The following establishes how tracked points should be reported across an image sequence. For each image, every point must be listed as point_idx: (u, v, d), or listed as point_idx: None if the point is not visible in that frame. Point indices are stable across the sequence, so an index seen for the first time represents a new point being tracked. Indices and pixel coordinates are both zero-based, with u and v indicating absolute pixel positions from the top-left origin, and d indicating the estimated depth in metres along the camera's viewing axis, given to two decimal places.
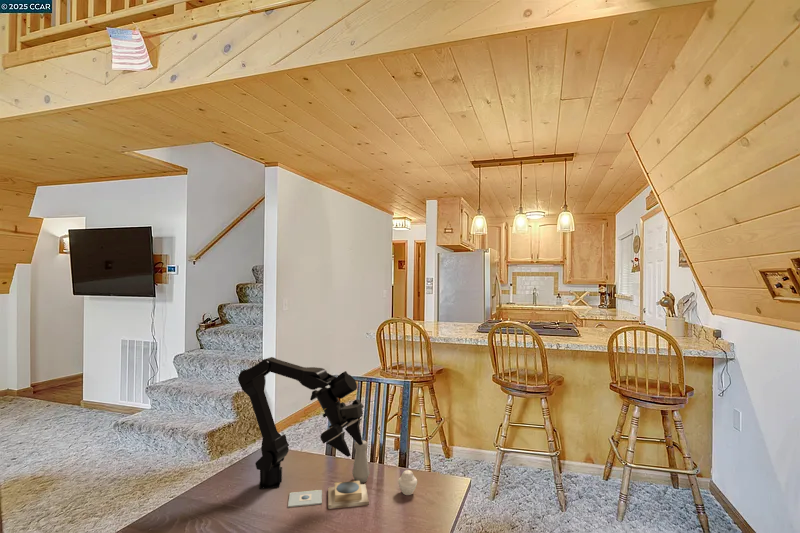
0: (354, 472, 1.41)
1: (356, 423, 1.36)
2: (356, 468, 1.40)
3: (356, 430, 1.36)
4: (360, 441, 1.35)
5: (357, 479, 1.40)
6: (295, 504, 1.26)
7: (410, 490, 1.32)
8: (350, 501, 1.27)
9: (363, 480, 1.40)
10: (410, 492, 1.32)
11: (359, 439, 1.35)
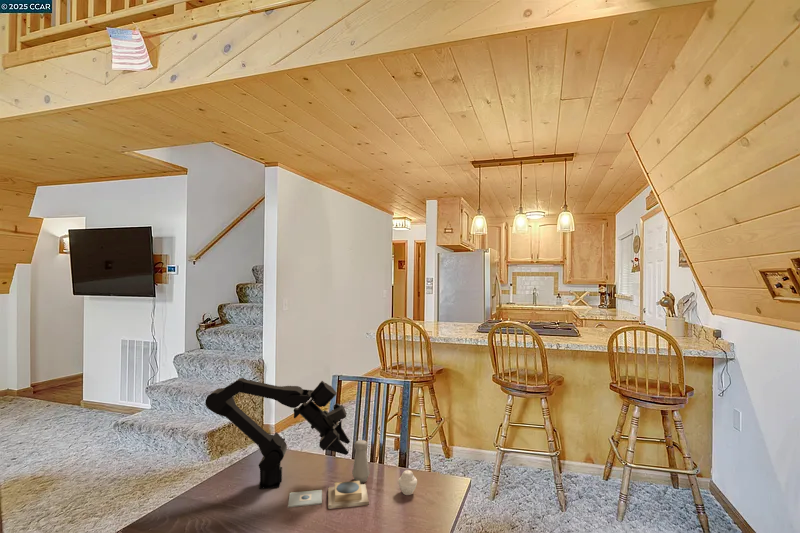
0: (354, 472, 1.41)
1: (339, 425, 1.47)
2: (356, 468, 1.40)
3: (341, 432, 1.47)
4: (347, 440, 1.47)
5: (357, 479, 1.40)
6: (295, 504, 1.26)
7: (410, 490, 1.32)
8: (350, 501, 1.27)
9: (363, 480, 1.40)
10: (410, 492, 1.32)
11: (346, 438, 1.47)
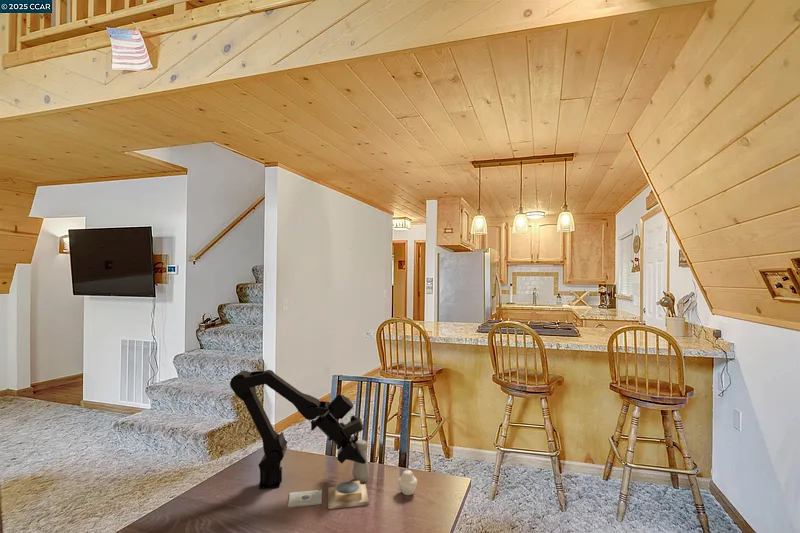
0: (354, 472, 1.41)
1: (355, 440, 1.45)
2: (356, 468, 1.40)
3: None
4: None
5: (357, 479, 1.40)
6: (295, 504, 1.26)
7: (410, 490, 1.32)
8: (350, 501, 1.27)
9: (363, 480, 1.40)
10: (410, 492, 1.32)
11: None
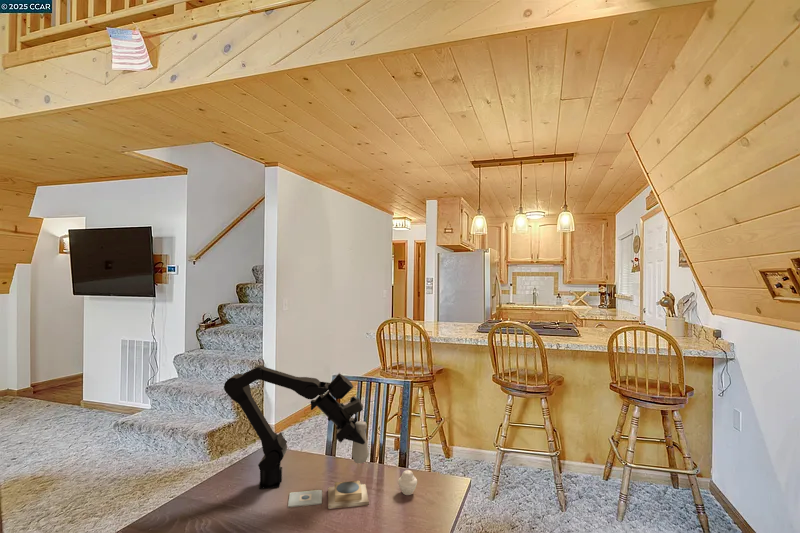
0: (353, 452, 1.40)
1: (355, 421, 1.45)
2: (355, 448, 1.40)
3: None
4: None
5: (356, 459, 1.40)
6: (295, 504, 1.26)
7: (410, 490, 1.32)
8: (350, 501, 1.27)
9: (362, 461, 1.40)
10: (410, 492, 1.32)
11: None
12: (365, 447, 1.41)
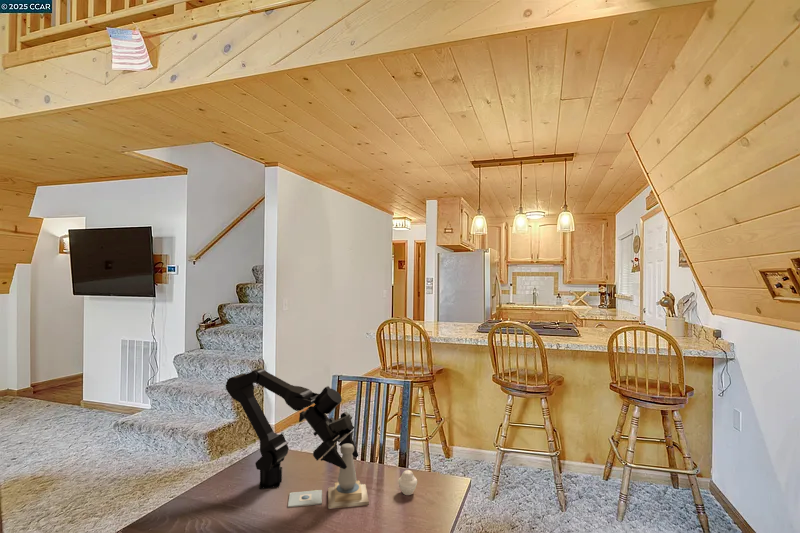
0: (338, 477, 1.31)
1: (348, 436, 1.37)
2: (340, 473, 1.30)
3: (350, 443, 1.36)
4: (355, 453, 1.35)
5: (340, 485, 1.30)
6: (295, 504, 1.26)
7: (410, 490, 1.32)
8: (350, 501, 1.27)
9: (346, 487, 1.29)
10: (410, 492, 1.32)
11: (354, 451, 1.35)
12: (350, 473, 1.30)
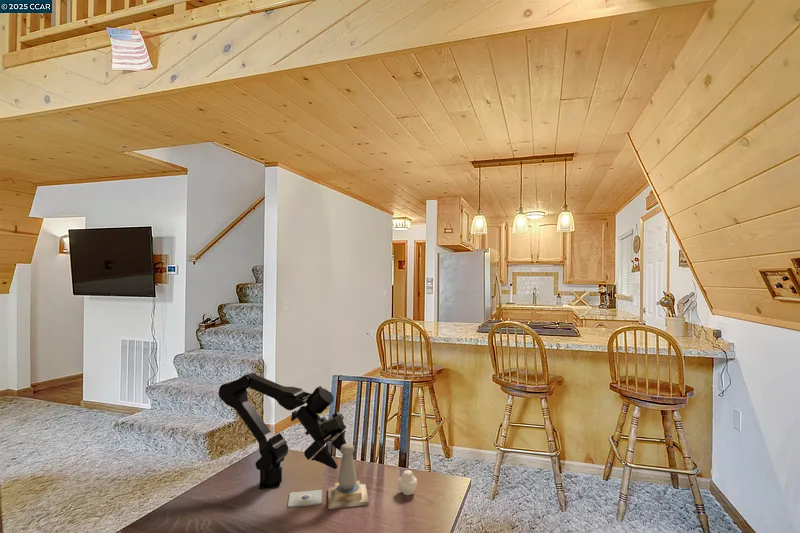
0: (338, 477, 1.31)
1: (340, 435, 1.38)
2: (340, 473, 1.30)
3: (342, 442, 1.37)
4: None
5: (340, 485, 1.30)
6: (295, 504, 1.26)
7: (410, 490, 1.32)
8: (350, 501, 1.27)
9: (346, 487, 1.29)
10: (410, 492, 1.32)
11: None
12: (350, 473, 1.30)
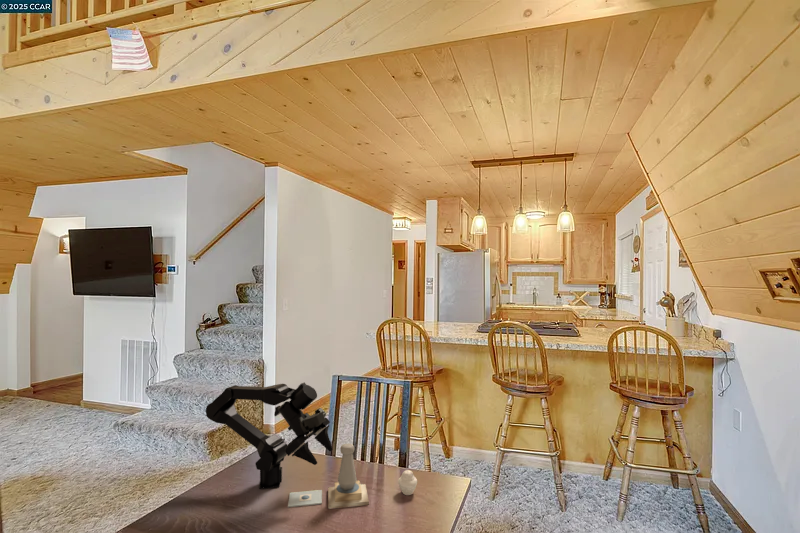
0: (338, 477, 1.31)
1: (323, 431, 1.40)
2: (340, 473, 1.30)
3: (324, 437, 1.40)
4: (330, 447, 1.39)
5: (340, 485, 1.30)
6: (295, 504, 1.26)
7: (410, 490, 1.32)
8: (350, 501, 1.27)
9: (346, 487, 1.29)
10: (410, 492, 1.32)
11: (328, 445, 1.39)
12: (350, 473, 1.30)
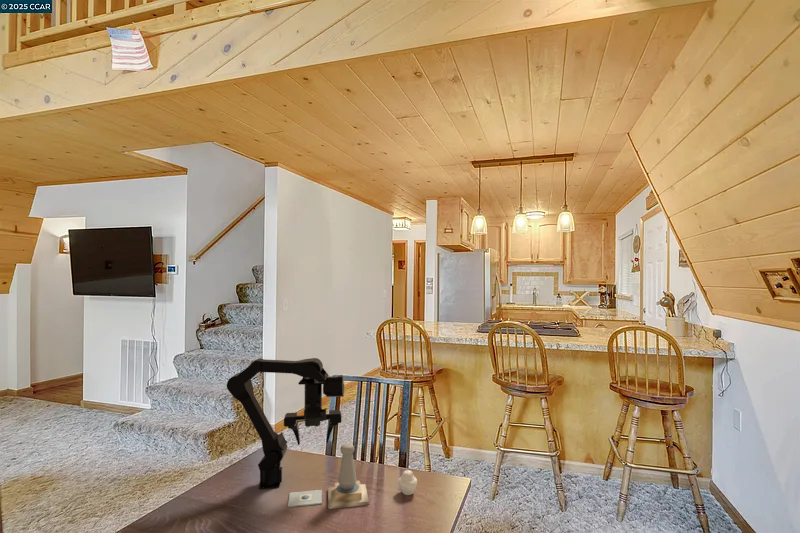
0: (338, 477, 1.31)
1: (328, 425, 1.40)
2: (340, 473, 1.30)
3: (327, 429, 1.41)
4: (326, 440, 1.41)
5: (340, 485, 1.30)
6: (295, 504, 1.26)
7: (410, 490, 1.32)
8: (350, 501, 1.27)
9: (346, 487, 1.29)
10: (410, 492, 1.32)
11: (326, 437, 1.41)
12: (350, 473, 1.30)
